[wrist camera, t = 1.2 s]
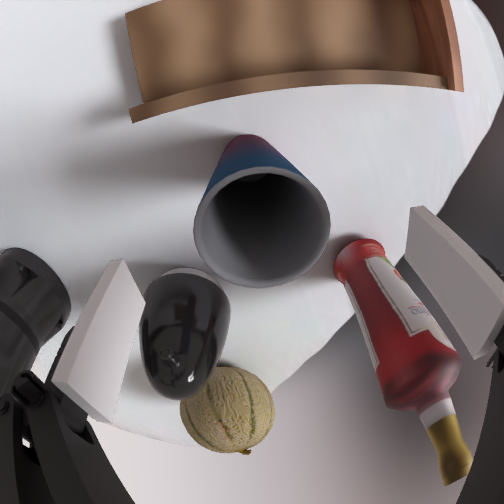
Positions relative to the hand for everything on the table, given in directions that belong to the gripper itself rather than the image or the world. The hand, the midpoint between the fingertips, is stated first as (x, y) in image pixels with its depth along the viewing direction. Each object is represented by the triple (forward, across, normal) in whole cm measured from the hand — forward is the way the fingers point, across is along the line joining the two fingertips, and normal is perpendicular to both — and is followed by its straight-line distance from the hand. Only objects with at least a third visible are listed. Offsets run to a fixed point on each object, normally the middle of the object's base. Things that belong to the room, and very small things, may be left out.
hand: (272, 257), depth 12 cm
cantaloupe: (+17, -10, -34) cm, 39 cm away
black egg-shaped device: (+17, -10, -14) cm, 24 cm away
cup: (+17, 0, 0) cm, 17 cm away
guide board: (+17, +6, +12) cm, 22 cm away
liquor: (+17, +11, -14) cm, 25 cm away
